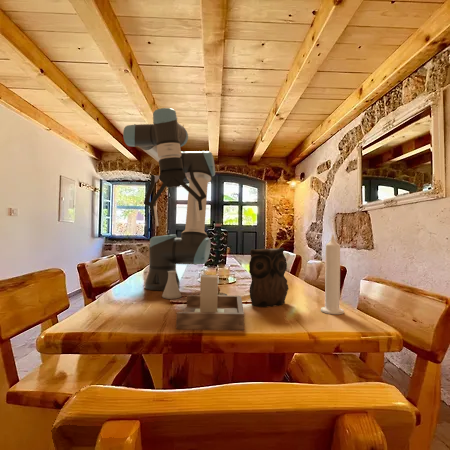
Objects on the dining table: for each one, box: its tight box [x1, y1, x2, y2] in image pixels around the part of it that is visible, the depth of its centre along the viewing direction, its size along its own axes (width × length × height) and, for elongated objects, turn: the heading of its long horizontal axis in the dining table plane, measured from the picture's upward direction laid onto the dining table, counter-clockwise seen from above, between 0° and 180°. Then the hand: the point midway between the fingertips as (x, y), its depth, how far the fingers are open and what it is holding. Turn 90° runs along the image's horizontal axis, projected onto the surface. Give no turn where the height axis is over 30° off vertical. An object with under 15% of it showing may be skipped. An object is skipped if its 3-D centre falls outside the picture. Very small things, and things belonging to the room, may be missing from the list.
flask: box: [161, 270, 183, 300], centre depth 120 cm, size 7×7×10 cm
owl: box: [248, 247, 289, 308], centre depth 111 cm, size 13×13×20 cm
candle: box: [320, 234, 345, 315], centre depth 102 cm, size 7×7×25 cm
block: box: [199, 274, 219, 312], centre depth 94 cm, size 5×4×11 cm
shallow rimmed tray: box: [175, 294, 245, 331], centre depth 94 cm, size 18×22×4 cm
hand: (178, 223), depth 103 cm, fingers open, 13 cm apart
